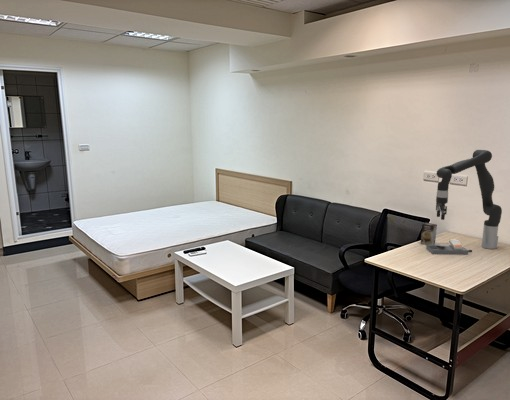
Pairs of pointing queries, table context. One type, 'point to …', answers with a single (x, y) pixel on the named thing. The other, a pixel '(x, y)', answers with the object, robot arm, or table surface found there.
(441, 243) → the block
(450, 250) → the rocker switch panel
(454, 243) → the rocker
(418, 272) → the table surface
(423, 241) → the coffee box
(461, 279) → the table surface
